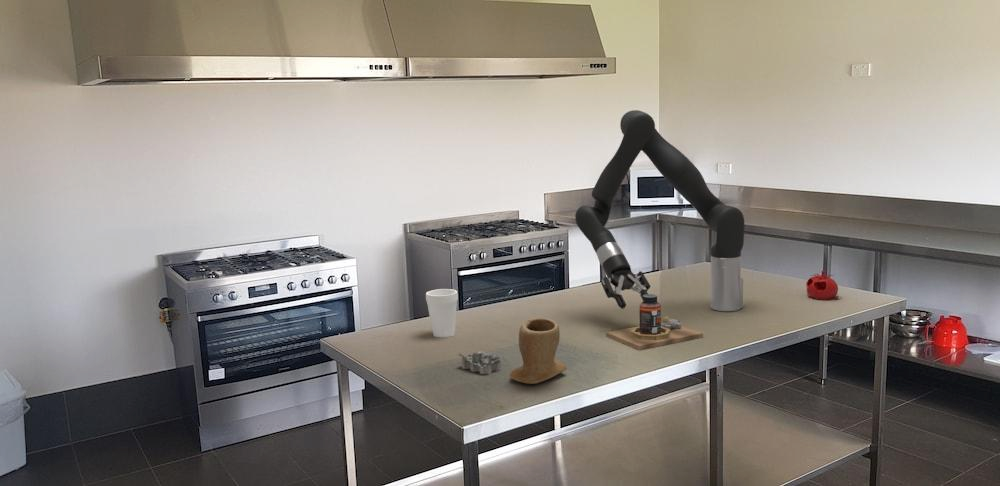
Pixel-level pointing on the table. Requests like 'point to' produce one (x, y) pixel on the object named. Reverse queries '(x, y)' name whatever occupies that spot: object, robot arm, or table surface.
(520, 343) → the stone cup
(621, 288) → the robot arm
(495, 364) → the egg carton
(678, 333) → the board
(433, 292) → the foam cup
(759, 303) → the table surface
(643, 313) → the supplement bottle
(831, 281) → the pomegranate
